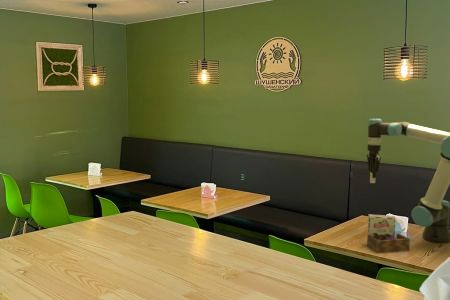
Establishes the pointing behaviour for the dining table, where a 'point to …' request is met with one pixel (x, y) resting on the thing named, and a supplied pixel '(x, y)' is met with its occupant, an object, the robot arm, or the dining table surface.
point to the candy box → (381, 227)
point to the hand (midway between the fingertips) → (372, 182)
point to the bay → (389, 244)
